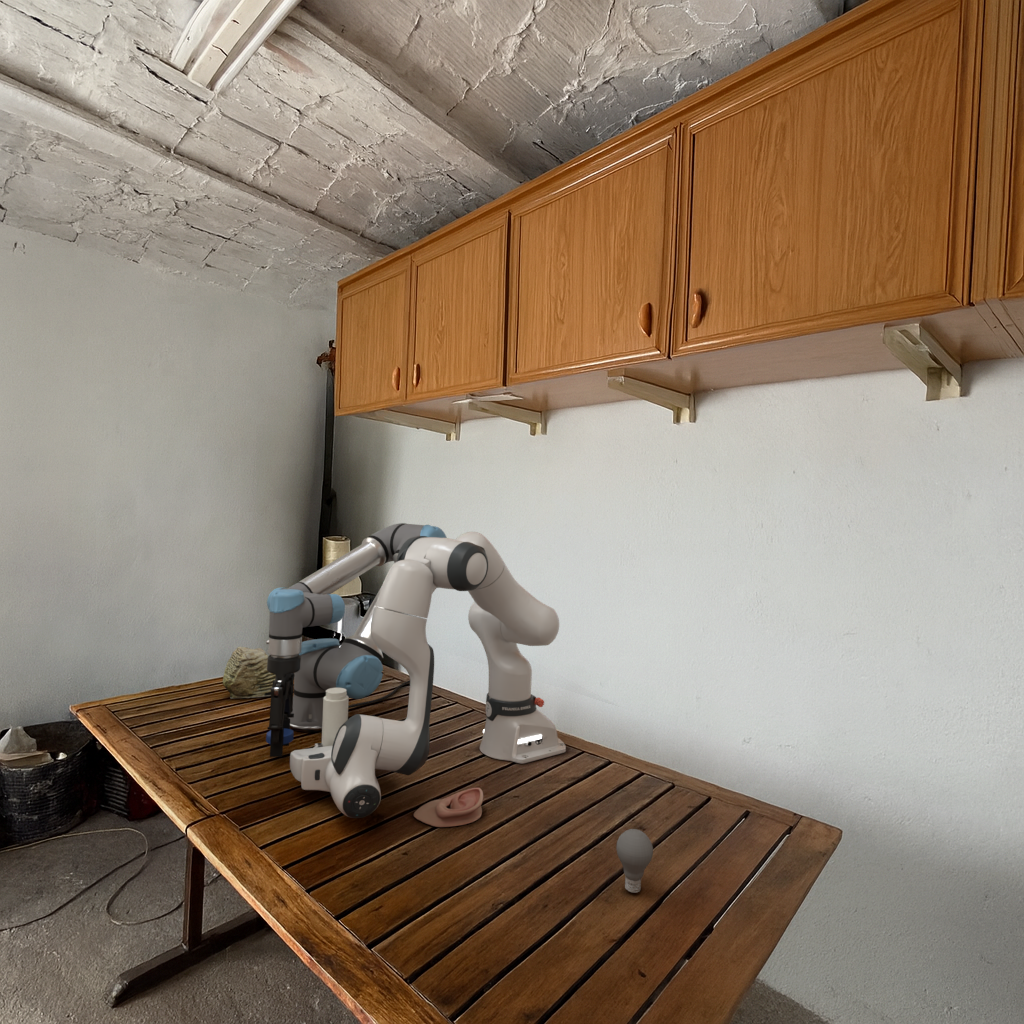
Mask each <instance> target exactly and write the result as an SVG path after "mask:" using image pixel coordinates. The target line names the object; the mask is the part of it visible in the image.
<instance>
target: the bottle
mask: <svg viewBox="0 0 1024 1024" xmlns="http://www.w3.org/2000/svg"><path fill="white" fill-rule="evenodd" d="M349 699H350V698H349V697H348V696H347V692H346V689H344V688H330V689H327V690H326V696H325V697H324V698H323V720H322V731H321V743H322V745H323V747H325V746H333V743H334V739H335V737H336V734H337V732H338V730H339V728H340V727H341V726H342V725H343V724H344V723H345V722H346V721H347V720H348V719H349V708H348V705H349Z"/></svg>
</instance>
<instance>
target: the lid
mask: <svg viewBox="0 0 1024 1024" xmlns="http://www.w3.org/2000/svg"><path fill="white" fill-rule="evenodd" d="M294 735H295V732H294V730H292V729H287V728H284V736H283V744H287V743H289V744H290V743H292V742H293V741H294ZM265 742H266V743H267V744H269V745H270V743H271V730H268V731H267V732H266V736H265Z"/></svg>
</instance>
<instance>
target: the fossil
mask: <svg viewBox="0 0 1024 1024" xmlns="http://www.w3.org/2000/svg"><path fill="white" fill-rule="evenodd" d="M268 656H269V654H267V653H266V652H265V650H264V649H263V648H260V647H258V648H251V647H247V646H246V647H245V646H238V647H237V648H236V649H235V650H233V651H232V653H231V656H230V657H229V659H228V660H227V663H226V666H225V668H224V671H223V675H222V676H223V677H222V685H223V687H224V688H225V690H226V691H228V693H229V698H230V699H250V698H264V697H271V687H272V685H273V680H275V677H276V675H275V674H273V673H269V672H268V671H267V660H268Z"/></svg>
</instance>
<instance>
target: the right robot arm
mask: <svg viewBox="0 0 1024 1024" xmlns="http://www.w3.org/2000/svg"><path fill="white" fill-rule="evenodd" d="M380 588H381V590H380V589H379V590H380V592H379V591H378V592H379V595H378V598H377V601H376V605H375V606H378V607H375V608H374V612H373V616H372V621H371V628H370V631H371V636H372V639H373V641H374V642H375V644H376V645H377V647H378V648H379V649H380V650H381V651H382V654H383V653H384V655H386V656H387V657H388V658H390V659H392V660H393V661H395V662H396V663H397V664H399V665H400V666H402V668H404V669H405V671H406V672H407V674H408V676H409V680H410V683H409V691H408V692H409V693H408V701H407V702H408V703H407V712H406V718H405V719H404V720H395V719H390V718H383V717H379V716H375V715H367V714H360V713H355V714H354V715H352V716H351V717H348V720H347V721H346V722H345V723H344V724H343V725H342V726H341V727H340V728H339V730H338V732H337V734H336V737H335V739H334V743H333V746H325V747H323V745H322V742H317V743H314V746H313V747H310V748H302V749H294V750H292V751H291V752H290V753H289V768H290V769H289V770H290V773H291V774H292V776H293V777H294V779H295V780H296V781H298V782H300V786H301V789H302V790H305V791H322V792H329V793H330V796H331V798H332V800H333V802H334V804H335V806H336V808H337V809H338V810H339V812H340V813H342V814H343V815H344V816H346V817H347V818H351V819H362V818H365V817H368V816H370V815H371V814H372V813H374V812H375V811H376V810H377V809H378V808H379V805H380V803H381V799H382V793H381V792H382V791H381V787H380V783H379V780H378V778H377V777H376V770H382V771H389V772H391V773H394V774H395V773H396V774H400V775H405V776H410V775H411V776H412V774H414V773H415V772H417V771H419V770H420V769H421V768H422V767H423V766H424V765H425V764H426V762H427V760H428V758H429V754H430V746H431V745H430V744H431V743H430V742H431V741H430V740H431V739H430V737H431V736H430V725H431V724H430V723H431V721H430V720H431V710H432V701H433V700H432V699H433V698H432V697H433V688H434V675H435V652H434V648H433V647H432V646H431V644H429V641H428V639H427V634H426V633H427V622H428V618H429V614H430V609H431V603H432V597H433V594H434V593H435V591H436V590H437V589H444V590H445V589H446V590H455V591H458V592H468V594H469V595H470V597H471V598H472V599H473V602H472V604H471V605H470V608H469V609H468V615H467V616H468V618H467V620H468V625H469V627H470V629H471V630H472V631H473V632H474V633H475V635H476V636H477V637H478V639H479V641H480V643H481V644H482V646H483V650H484V652H485V656H486V659H487V667H488V691H487V693H486V697H485V717H486V718H485V725H484V729H483V730H482V733H483V734H482V738H481V741H480V744H479V747H478V748H479V751H480V752H481V754H483V755H485V756H487V757H489V758H492V759H495V760H499V761H508V762H509V761H510V762H513V763H515V764H516V763H517V764H522V765H523V764H527V763H531V762H534V761H538V760H542V759H545V758H549V757H553V756H556V755H557V756H558V755H561V754H564V753H566V752H567V746H566V744H565V742H564V741H563V740H562V739H560V738H559V737H558V731H557V727H556V725H555V723H554V722H553V721H552V720H551V719H550V718H549V717H547V715H545V714H544V713H542V711H541V710H539V709H538V708H542V707H544V705H545V700H544V699H542V698H541V697H537V696H535V695H533V694H532V680H533V679H532V678H533V668H532V665H531V663H530V661H529V660H528V658H526V657H525V656H524V655H523V653H522V652H521V651H520V649H519V647H518V645H523V646H529V647H541V646H542V647H543V646H545V647H546V646H549V645H550V644H552V643H553V642H554V640H555V639H556V638H557V636H558V635H559V631H560V618H559V615H558V613H557V612H556V610H555V609H554V608H553V607H551V606H549V605H547V604H546V603H543V602H542V601H540V600H539V599H537V597H536V596H534V595H532V594H531V593H530V592H529V591H528V590H526V589H525V587H523V586H522V585H521V584H520V583H519V582H518V581H517V579H515V577H514V576H513V574H512V572H511V571H510V570H509V567H508V566H507V565H506V562H505V561H504V559H503V558H502V556H501V555H500V553H499V551H498V550H497V548H496V547H495V546H494V545H493V544H492V542H491V541H490V540H489V539H488V538H487V537H486V536H485V535H484V534H482V533H481V532H478V531H467V532H464V533H461V534H460V535H459V536H457V537H456V538H449V537H447V538H437V537H426V536H417V537H412V538H410V539H408V540H407V541H406V542H405V543H404V544H403V545H402V547H401V549H400V551H399V553H398V556H397V562H396V563H394V562H393V564H392V565H391V566H390V568H389V570H388V571H387V574H386V576H385V577H384V580H383V582H382V584H381V587H380ZM379 607H382V608H379ZM384 608H386V609H384ZM388 609H390V610H388ZM392 610H394V611H392ZM396 611H398V612H396ZM400 612H402V613H400ZM537 707H538V708H537Z"/></svg>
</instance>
